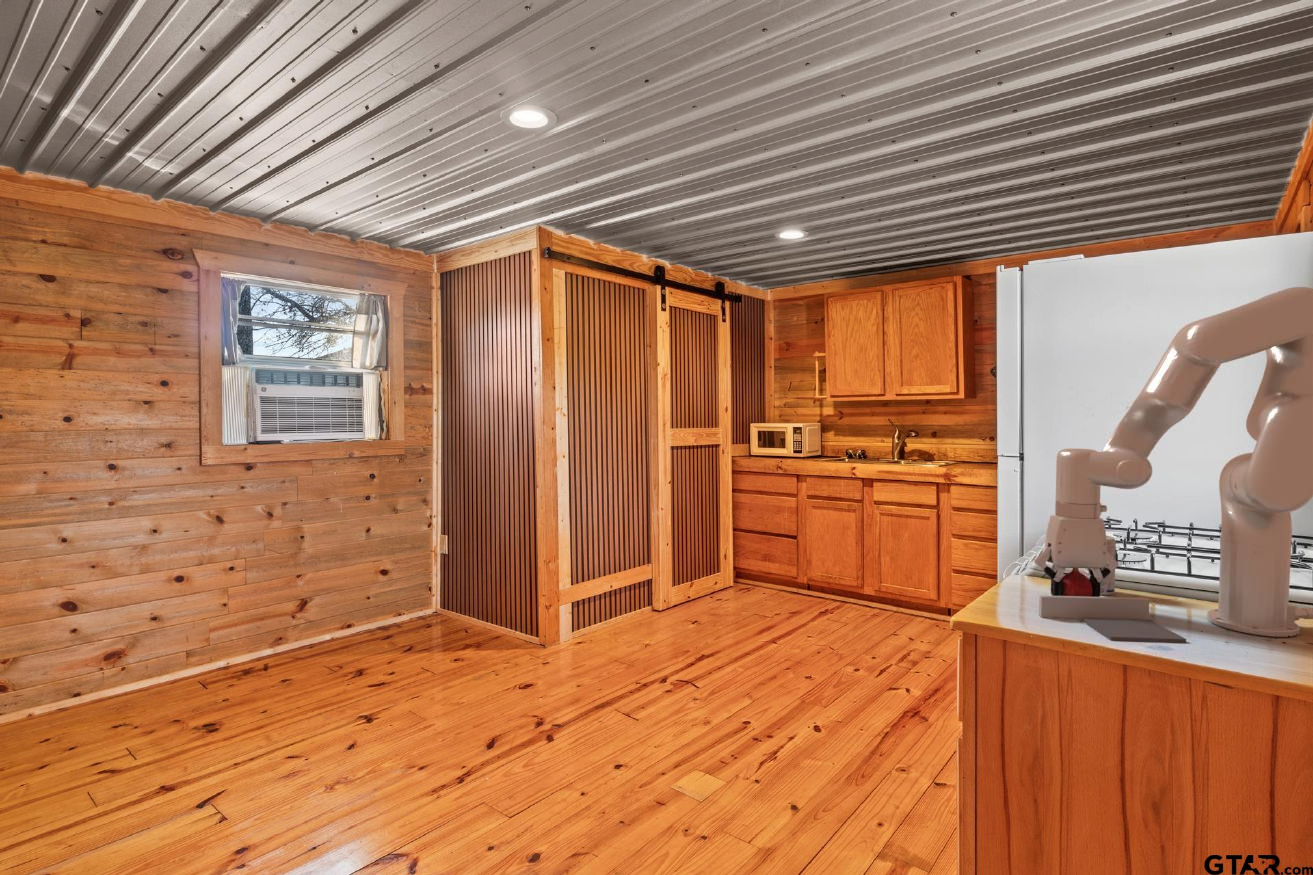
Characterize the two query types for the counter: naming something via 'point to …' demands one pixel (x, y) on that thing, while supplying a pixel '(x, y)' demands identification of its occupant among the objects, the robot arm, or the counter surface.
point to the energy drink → (1109, 581)
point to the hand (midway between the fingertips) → (1075, 598)
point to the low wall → (1094, 607)
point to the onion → (1076, 584)
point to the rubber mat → (1132, 630)
